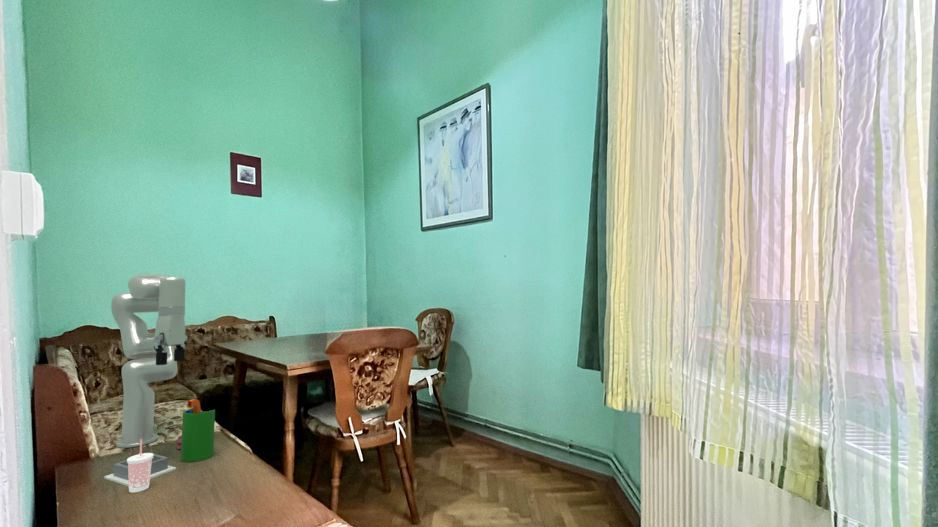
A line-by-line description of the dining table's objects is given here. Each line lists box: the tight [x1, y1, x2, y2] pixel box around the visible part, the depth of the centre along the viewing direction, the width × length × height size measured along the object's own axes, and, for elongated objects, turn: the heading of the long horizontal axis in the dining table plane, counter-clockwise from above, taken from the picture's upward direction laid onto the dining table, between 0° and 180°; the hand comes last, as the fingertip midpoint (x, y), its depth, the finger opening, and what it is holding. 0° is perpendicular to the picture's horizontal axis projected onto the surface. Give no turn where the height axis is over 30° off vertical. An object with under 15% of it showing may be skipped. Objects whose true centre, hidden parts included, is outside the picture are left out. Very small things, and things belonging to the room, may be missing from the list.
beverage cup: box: [126, 439, 155, 493], centre depth 121 cm, size 6×6×14 cm
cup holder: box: [103, 453, 177, 488], centre depth 131 cm, size 14×13×4 cm
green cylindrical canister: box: [180, 398, 216, 463], centre depth 145 cm, size 10×9×20 cm
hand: (170, 362), depth 142 cm, fingers open, 9 cm apart
